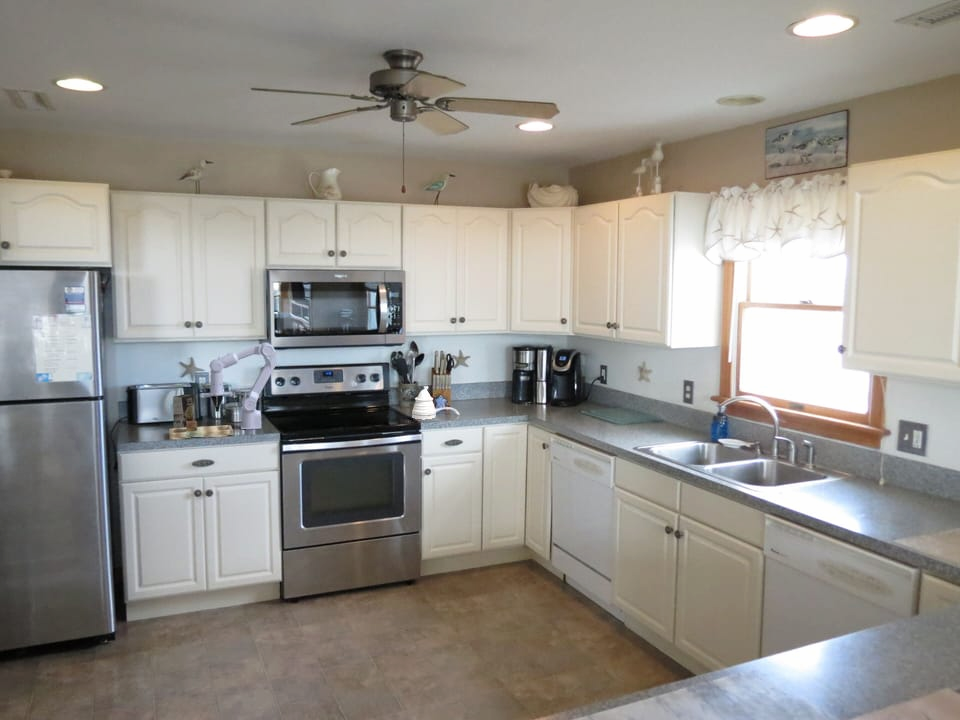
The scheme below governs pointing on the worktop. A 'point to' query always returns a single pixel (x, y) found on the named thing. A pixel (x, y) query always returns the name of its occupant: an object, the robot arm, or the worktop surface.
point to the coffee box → (183, 410)
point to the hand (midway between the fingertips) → (217, 411)
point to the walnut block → (191, 425)
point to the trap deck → (201, 432)
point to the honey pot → (424, 406)
